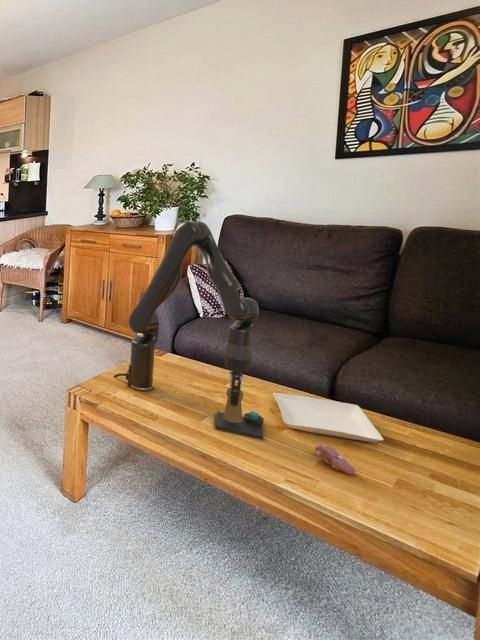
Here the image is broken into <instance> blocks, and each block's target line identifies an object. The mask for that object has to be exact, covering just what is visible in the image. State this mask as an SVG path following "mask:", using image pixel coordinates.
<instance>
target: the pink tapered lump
mask: <svg viewBox="0 0 480 640" xmlns="http://www.w3.org/2000/svg"><path fill="white" fill-rule="evenodd" d="M314 449H315V453H316V454H317V455H318V456H320V457H321V459H322V460H323V461H324V462H325V463H326V464H327V465H331V467H332V468H333V470H335V471H343V472H344V473H345V474H347V475H355V474H356V469H355V467H354V466H352V465H351V464H350V463H349V462H348V461H347V460H346V459H345V457H343V456H342V455H341V454H339V452H338V451H337V450H336V449H335V448H333V447H329V446H327V445H326V444H325V443H324V444H319V445H317V446H315V447H314Z"/></svg>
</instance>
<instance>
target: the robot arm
mask: <svg viewBox="0 0 480 640" xmlns="http://www.w3.org/2000/svg"><path fill="white" fill-rule="evenodd" d="M171 237H172V238H171V240H170V243H169V245H168V247H167V250H166V252H165V254H164V256H163V258H161V259H162V260H161V262H160V263H159V265H158V267H157V268H156V270H155V272H154V274H153V276H152V277H151V280H150V282H149V284H148V285H147V288H146V289H145V291H144V292H143V295H142V297H141V298H140V300H139V302H138V303H137V305H136V306H135V307H134V309H133V310H132V312H131V313H130V315H129V317H128V327H129V329H130V330H131V331H132V332H133V333H135V335H134V337H133V338H131V341H130V344H131V345H130V361H129V364H128V369H127V371H126V372H125V373H124V372H123V373H116V374H114V375H113V377H114V378H115V379H116V378H118V377H125V380H126V381H127V387H128V388H131V389H133V390H136V391H140V392H148V391H151V390H153V388H154V387H153V383H154V365H155V364H154V363H155V349H156V344H157V342H158V338H159V336H158V335H159V329H160V319H159V316H158V313H157V312H156V311H157V310H158V308H159V307H160V306H161V305H162V304H163V303H165V301H166V300H168V299H169V297H170V296H171V295H172V294H173V293H174V292H175V290H176V288H177V286H178V285H179V283H180V281H181V279H182V275H183V262H184V259H185V257H186V256H187V254H188V253H189V251H190V250H191V248H192V247H196V248H197V249H198V251H199V252H200V253H201V254H202V257H203V258H204V262H205V266H206V271H207V275H208V277H209V279H210V281H211V282H212V284H213V286H214V287H215V289H216V290H217V292H218V294H219V296H220V299H221V300H220V301H221V303H222V306H223V309H224V311H225V313H226V314H227V316H228V317H229V318H230V319H232V320H234V323H233V324H231V325H230V326H229V328H228V335H227V343H226V348H225V359H224V366H225V368H226V369H228V370H229V388H231V402H230V404H231V405H234V406H237V405H238V397H239V395H240V394H239V393H240V390H242V385H243V381H244V373H247V372H249V371H250V370H251V360H252V341H253V332H254V329H255V327H256V324H257V320H258V317H259V313H260V308H259V304H258V302H257V301H256V300H255V299H253V298H251V297H242V298H241V297H240V295H239V291H240V290H241V284H240V282H239V281H238V280H237V278H236V277H235V275H234V273H233V272H232V271H231V269H230V268H229V266H228V265H227V262H226V261H225V259H224V257H223V255H222V253H221V251H220V249H219V247H218V245H217V243H216V240H215V237H214V236H213V233H212V231H211V229H210V228H209V226H208V225H207V224H206V223H205V222H203V221H200V220H186V221H183V222H181V223H179V224H178V226H177V227H176V229H175V231H174V232H173V235H172V236H171ZM230 370H231V371H230ZM233 390H238V392H234V391H233Z"/></svg>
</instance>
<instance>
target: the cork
mask: <svg viewBox="0 0 480 640" xmlns="http://www.w3.org/2000/svg"><path fill="white" fill-rule="evenodd" d="M233 391H234V392H238V390H233ZM225 394H226V396H227V398H226V403H225V406H224V410H223V413H224V414H223V418H224V419H225V420H227V421H229V422H233V423H240V422H242V417H243V409H242V408H243V407H242V400H243V398H244V392H243V390H242V389H240V393H239V394H240V395H239V397H238V405H237V406H234V405H231V404H230V402H231V387H228V388H227V389H226V391H225Z"/></svg>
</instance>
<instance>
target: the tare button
mask: <svg viewBox="0 0 480 640" xmlns="http://www.w3.org/2000/svg"><path fill="white" fill-rule="evenodd" d="M248 413H249V418H251V419H255V420H258V419H259V416H260V414H259V413H258V412H256V411H249V412H248Z"/></svg>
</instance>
